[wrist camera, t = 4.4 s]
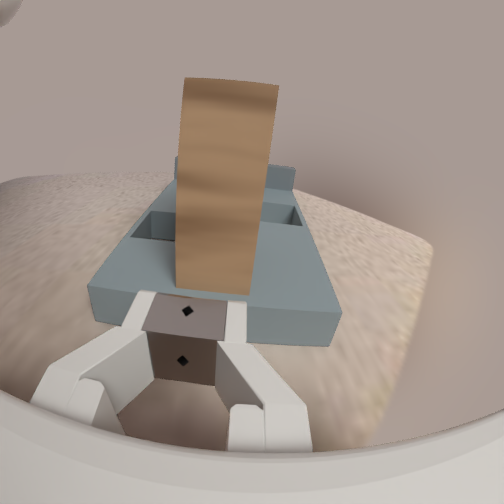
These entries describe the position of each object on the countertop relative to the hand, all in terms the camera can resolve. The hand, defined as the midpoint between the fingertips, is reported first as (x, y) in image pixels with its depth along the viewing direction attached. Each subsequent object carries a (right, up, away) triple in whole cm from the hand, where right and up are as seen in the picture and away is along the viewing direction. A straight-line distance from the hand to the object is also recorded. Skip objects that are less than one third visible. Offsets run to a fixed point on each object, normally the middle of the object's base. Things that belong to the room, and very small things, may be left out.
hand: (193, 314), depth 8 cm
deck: (-1, +2, +22) cm, 22 cm away
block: (-1, +1, +13) cm, 13 cm away
